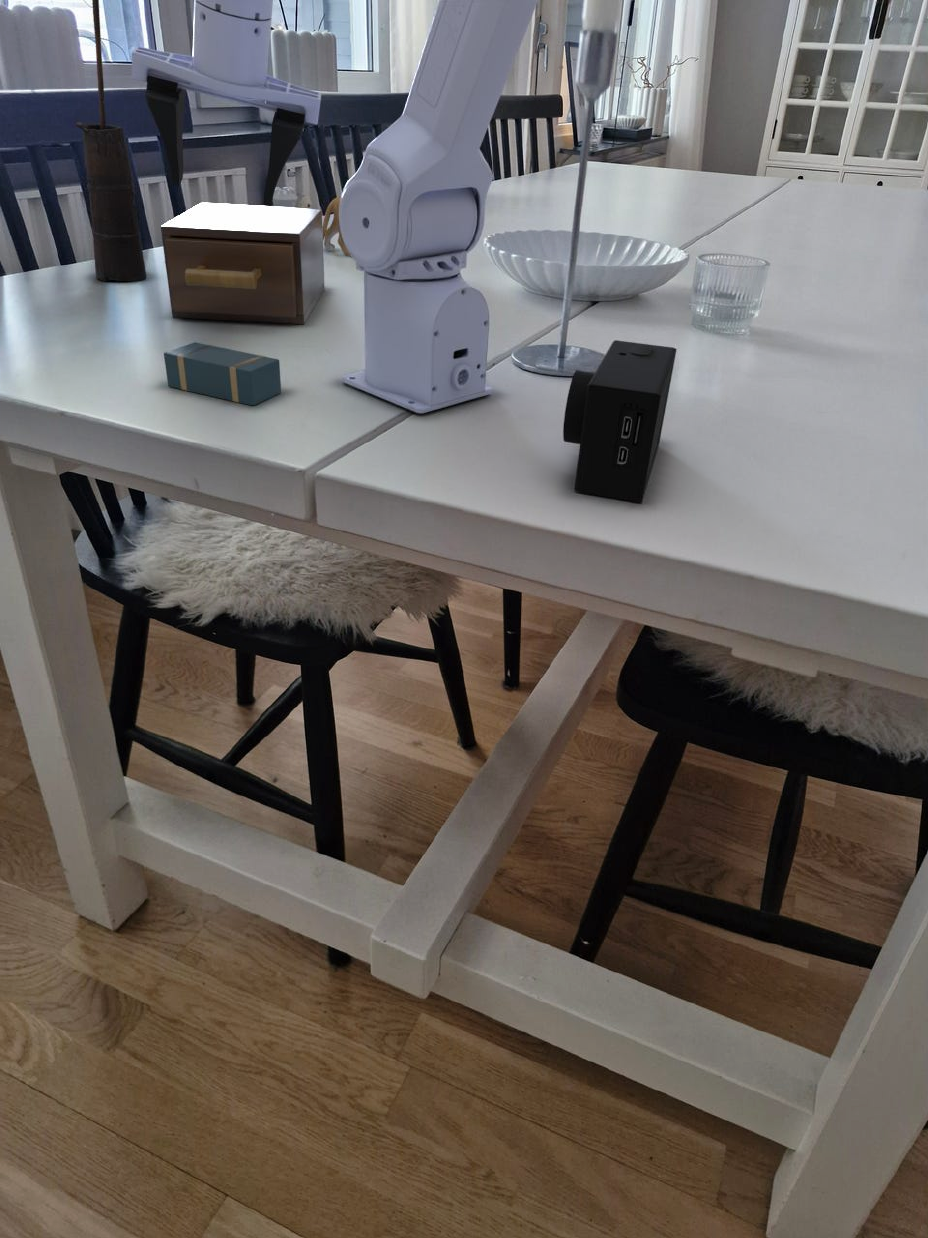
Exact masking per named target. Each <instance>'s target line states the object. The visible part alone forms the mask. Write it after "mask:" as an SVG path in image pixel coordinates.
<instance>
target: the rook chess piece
mask: <svg viewBox="0 0 928 1238" xmlns="http://www.w3.org/2000/svg"><path fill="white" fill-rule="evenodd" d="M297 200H298V196H297V195H296V194H295V188H293V187H289V188H288V187H287V186H286V187H285V186H283V187H282V189H281V187H279V186H276V188H275V191H274V195H273V201H272V204H273V205H274V206H273V207H287V208H295V204H296V202H297Z"/></svg>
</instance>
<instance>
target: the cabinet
mask: <svg viewBox="0 0 928 1238" xmlns="http://www.w3.org/2000/svg"><path fill="white" fill-rule="evenodd" d="M322 227H323V209H320V208H305V207H302V208H301V207H294V208H287V207H274V206H271V207H269V206H264V205H249V204H231V203H214V202H213V203H212V202H200V203H199V204H196V205H195V206H193V207H192V208H190V209H188V210H186V211H185V212H183V213H181V214H180V215H177V216H175V217H174V218H173V219H171V220H168V221H167V222H165V223H164V224H162V225H161V226H160V232H161V240H162V248H163V256H164V263H165V270H166V279H167V287H168V294H169V301H170V308H171V315H172V318H176V319H191V320H192V319H194V320H211V321H212V320H215V321H231V322H233V321H234V322H251V323H252V322H253V323H269V324H290V325H291V324H292V325H305V323H306V322H307V320H308V318H309V317H310V315H311V313H312V311H313V310H314V308H315V307H316V305H317V303H318V302H319V300H320V298H321V297H322V295H323V293H324V291H325V289H326V288H325V264H324V262H325V259H324V240H323V230H322ZM169 237H172V238H181V237H199V238H218V239H236V240H255V241H273V242H292V244H293V245H294V262H295V281H296V299H297V315H296V317H276V316H257V315H238V314H218V313H199V312H180V311H174V306H173V298H172V291H171V283H170V275H169V267H168V260H167V252H166V244H165V239H167V238H169Z"/></svg>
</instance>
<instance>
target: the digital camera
mask: <svg viewBox="0 0 928 1238" xmlns="http://www.w3.org/2000/svg"><path fill="white" fill-rule="evenodd" d="M676 355H677V348H675V347H672V346H665V345H664V346H663V345H658V344H657V345H656V344H648V343H640V342H632V341H626V340H625V341H624V340H618V339H615V340H613V341H612V343H611V344H610V346H609V348H608V350H607V351H606V353H605V354H604V356H603V358H602V360H601V361H600V363H599V365H598V366H597V369H596V370H595V372H593V371H587V370H586V371H585V370H580V369H576V370H575V371H574V373H573V375H572V378H571V381H570V384H569V388H568V393H567V398H566V404H565V410H564V416H563V425H562V426H563V427H562V431H563V432H562V436H563V437H562V438H563V442H565V443H569V444H570V443H571V444H577V445H579V450H578V456H577V457H578V458H577V466H576V473H575V481H574V491H575V492H576V493H581V494H587V495H593V496H598V497H604V498H611V499H617V500H621V501H623V500H624V501H628V502H635V503H637V504H638V503H639V504H643V501H644V497H645V494H646V490H647V487H648V483H649V480H650V478H651V473H652V470H653V467H654V463H655V461H656V456H657V453H658V450H659V447H660V443H661V436H662V432H663V425H664V420H665V415H666V410H667V403H668V399H669V393H670V389H671V382H672V378H673V377H672V376H673V371H674V367H675V366H674V365H675V361H676V360H675V359H676Z"/></svg>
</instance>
